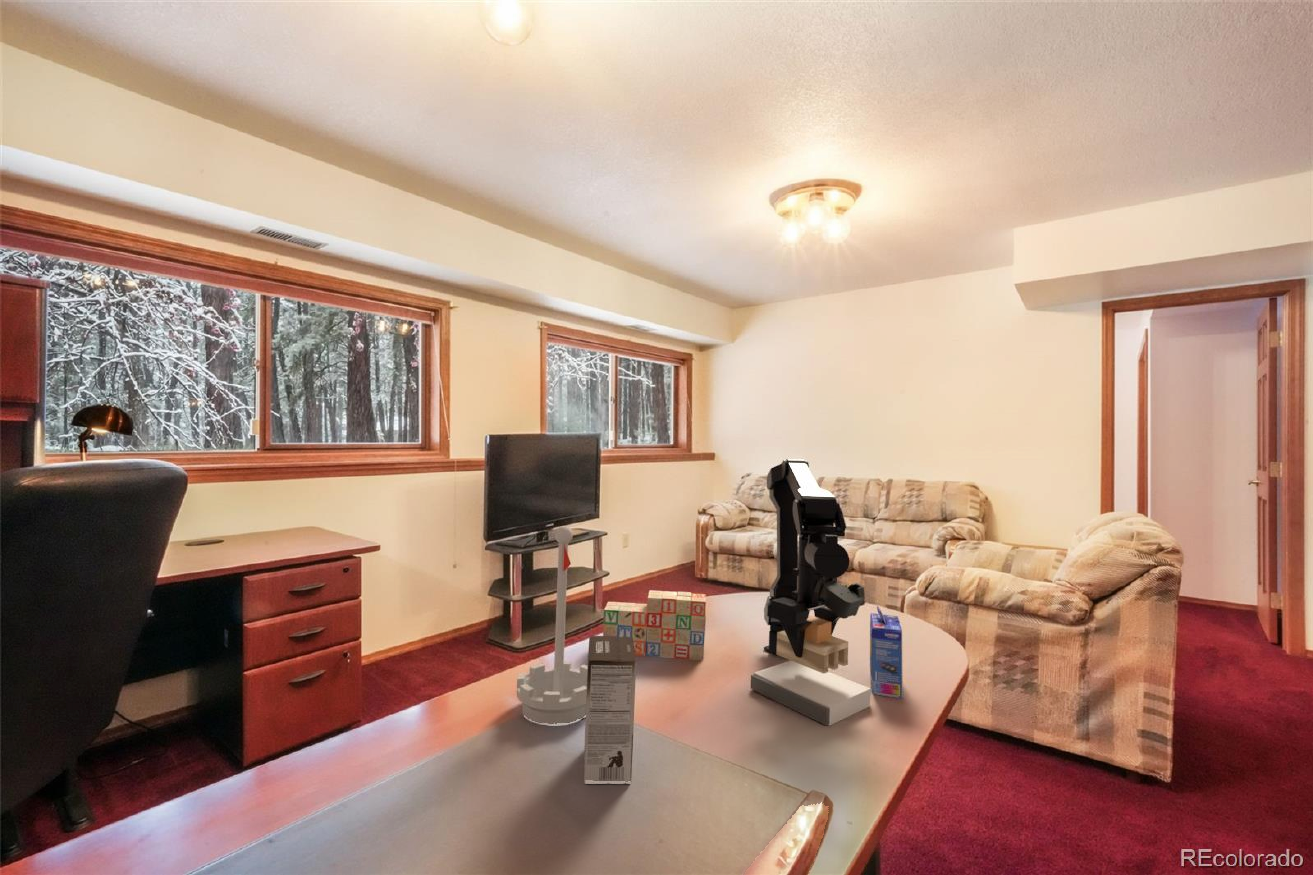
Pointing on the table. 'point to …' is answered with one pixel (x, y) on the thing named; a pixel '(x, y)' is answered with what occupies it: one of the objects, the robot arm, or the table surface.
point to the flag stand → (555, 664)
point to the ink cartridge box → (886, 655)
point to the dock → (811, 691)
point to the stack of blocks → (661, 624)
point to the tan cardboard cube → (818, 630)
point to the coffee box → (610, 708)
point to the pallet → (815, 653)
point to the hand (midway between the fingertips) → (811, 652)
